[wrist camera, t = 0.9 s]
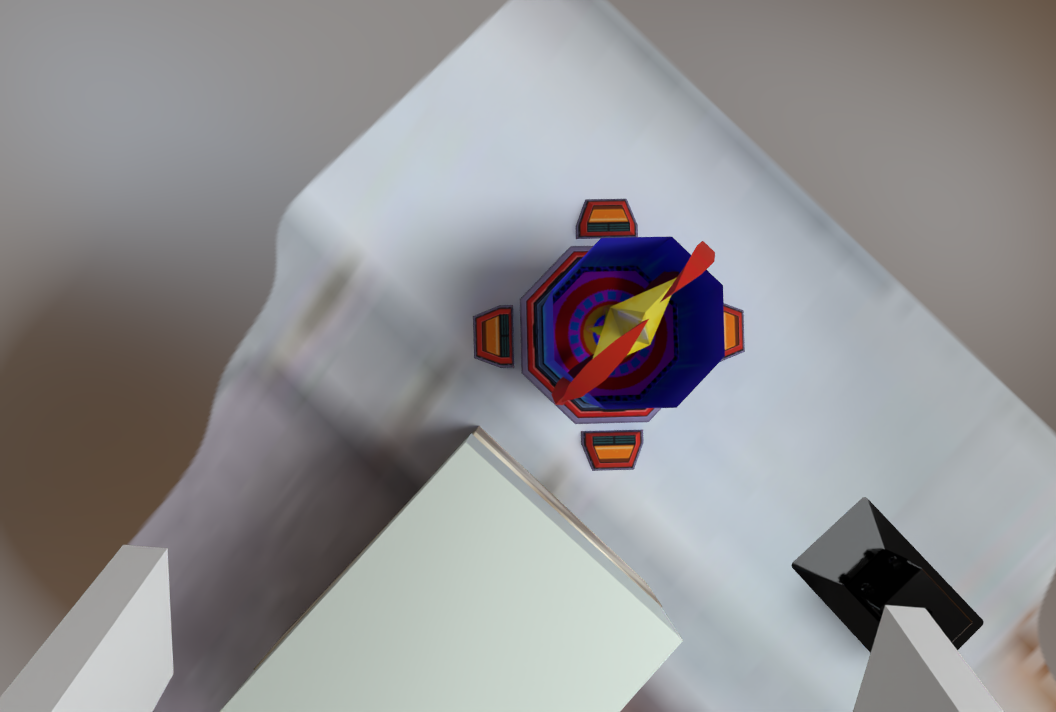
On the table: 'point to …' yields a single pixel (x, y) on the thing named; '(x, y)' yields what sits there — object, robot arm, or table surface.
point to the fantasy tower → (616, 329)
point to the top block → (469, 613)
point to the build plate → (879, 577)
